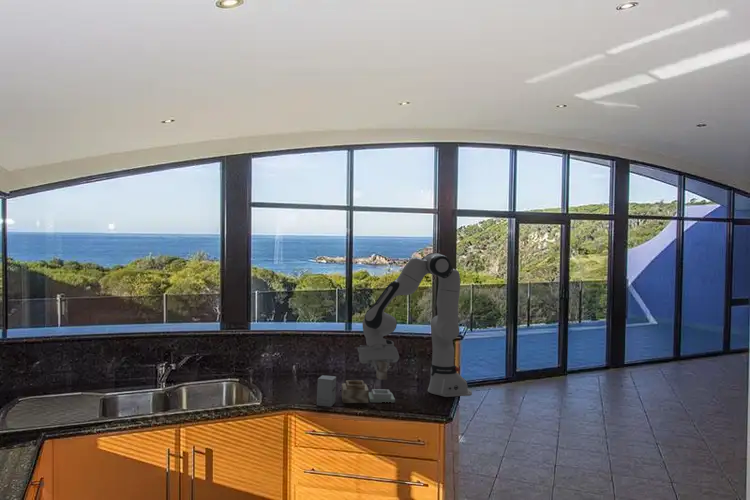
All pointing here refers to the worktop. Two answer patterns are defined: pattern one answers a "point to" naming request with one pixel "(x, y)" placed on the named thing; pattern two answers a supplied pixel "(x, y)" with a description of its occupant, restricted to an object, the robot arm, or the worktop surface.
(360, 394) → the birch stand
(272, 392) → the worktop surface
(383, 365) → the cream plug block
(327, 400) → the supplement box
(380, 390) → the sage socket plate
